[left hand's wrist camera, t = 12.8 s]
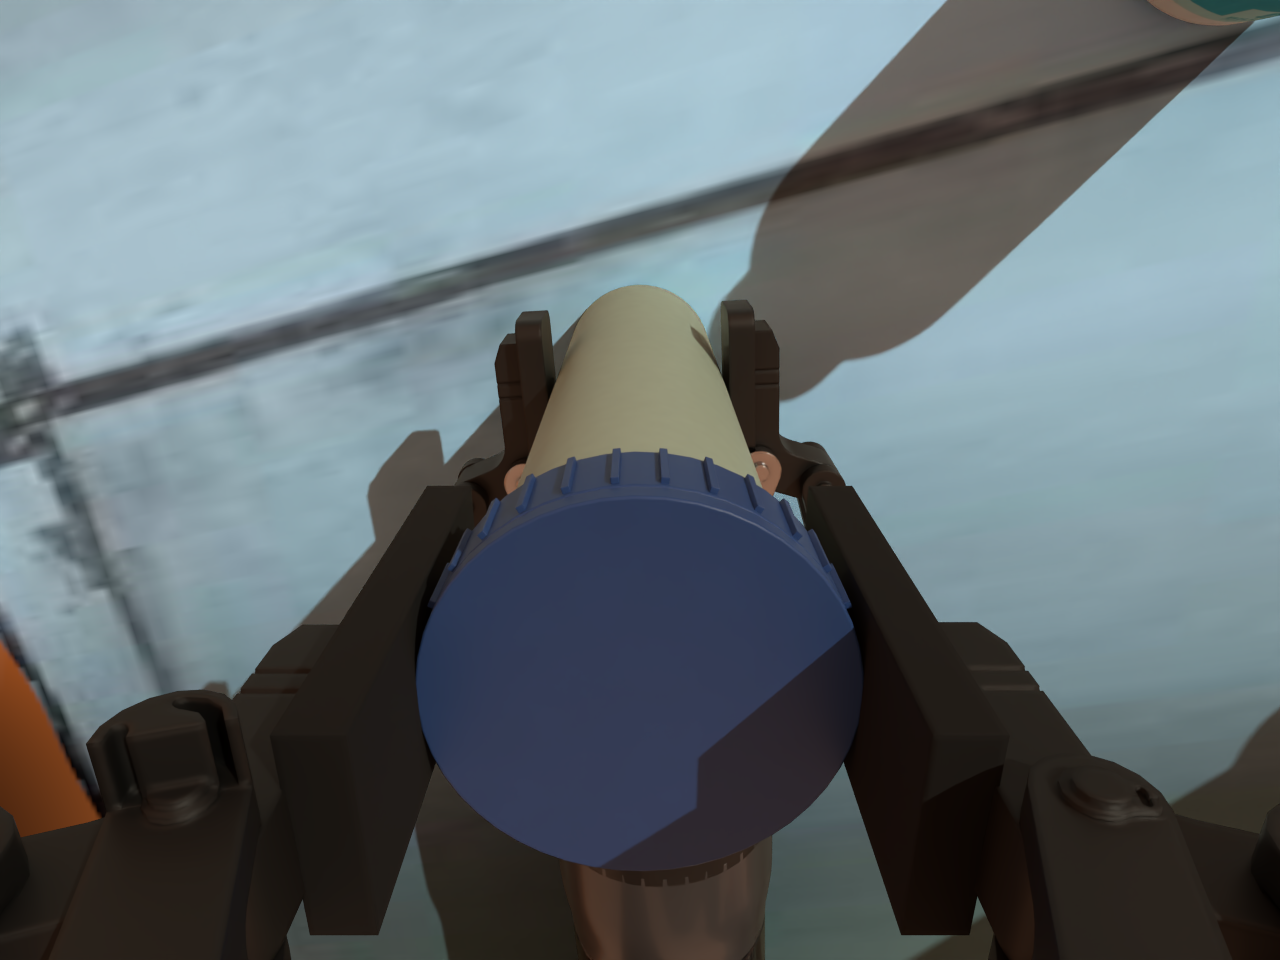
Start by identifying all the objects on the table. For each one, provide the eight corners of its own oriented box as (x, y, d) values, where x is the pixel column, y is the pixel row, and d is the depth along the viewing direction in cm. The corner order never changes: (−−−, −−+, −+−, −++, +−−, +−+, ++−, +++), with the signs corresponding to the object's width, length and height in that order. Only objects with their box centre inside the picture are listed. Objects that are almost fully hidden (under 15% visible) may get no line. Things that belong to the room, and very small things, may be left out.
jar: (565, 413, 30) (453, 808, 12) (576, 277, 28) (463, 499, 10) (699, 427, 30) (786, 836, 12) (718, 292, 28) (853, 538, 10)
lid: (434, 779, 13) (408, 858, 12) (440, 423, 11) (409, 466, 10) (802, 810, 13) (822, 892, 12) (880, 468, 11) (917, 516, 10)
